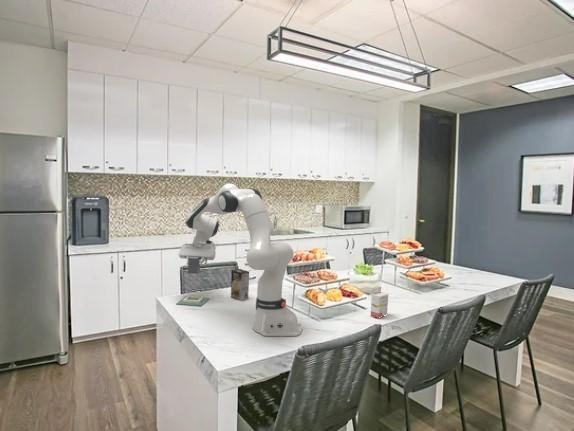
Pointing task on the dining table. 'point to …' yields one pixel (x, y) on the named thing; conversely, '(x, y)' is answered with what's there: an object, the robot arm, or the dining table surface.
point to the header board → (193, 301)
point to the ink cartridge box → (379, 303)
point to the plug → (193, 265)
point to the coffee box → (239, 284)
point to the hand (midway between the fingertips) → (193, 264)
